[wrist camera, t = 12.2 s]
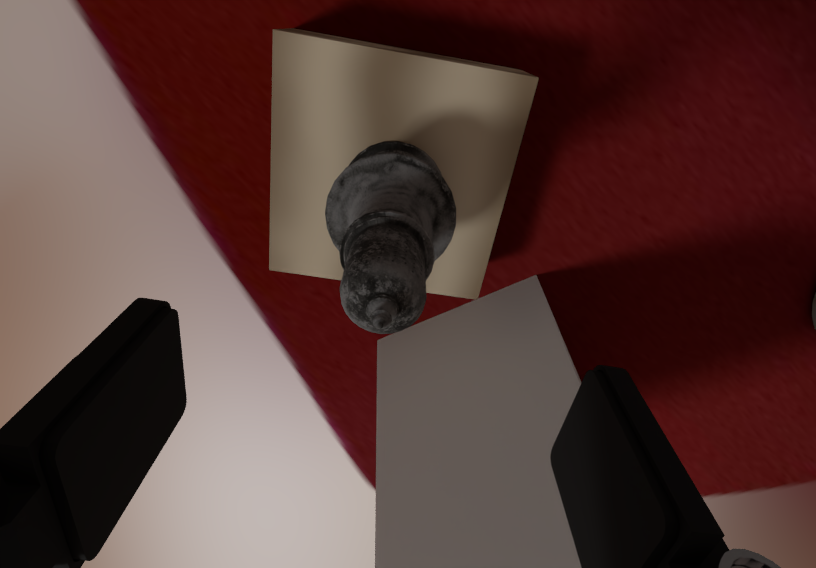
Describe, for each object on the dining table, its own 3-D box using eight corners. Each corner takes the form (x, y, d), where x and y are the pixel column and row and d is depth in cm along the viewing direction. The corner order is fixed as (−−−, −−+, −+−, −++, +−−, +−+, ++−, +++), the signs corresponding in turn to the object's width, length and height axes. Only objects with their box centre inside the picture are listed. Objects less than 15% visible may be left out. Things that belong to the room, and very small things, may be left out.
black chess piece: (422, 113, 22) (433, 197, 11) (467, 219, 24) (509, 367, 14) (314, 165, 23) (235, 283, 13) (368, 261, 26) (339, 424, 15)
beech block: (520, 69, 25) (539, 77, 21) (469, 267, 30) (477, 299, 27) (293, 28, 24) (272, 29, 20) (286, 240, 29) (269, 269, 26)
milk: (536, 274, 31) (887, 987, 8) (585, 392, 36) (886, 1032, 13) (377, 340, 33) (305, 1010, 11) (443, 440, 38) (490, 1040, 16)
